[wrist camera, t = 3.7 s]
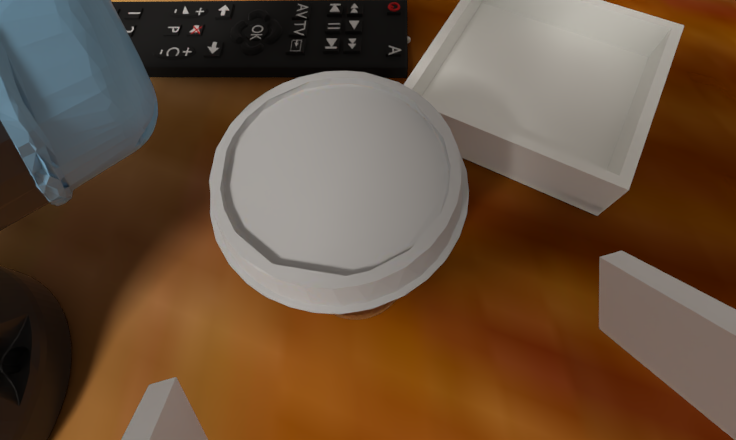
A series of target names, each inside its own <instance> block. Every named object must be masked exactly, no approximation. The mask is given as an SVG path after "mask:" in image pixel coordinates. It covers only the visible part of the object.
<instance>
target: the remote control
mask: <svg viewBox="0 0 736 440" xmlns="http://www.w3.org/2000/svg"><path fill="white" fill-rule="evenodd" d="M112 4H113V6H114V8H115V10H116V12H117V14H118V16H119V18H120V19H121V21H122V23H123V25H124V27H125V29H126V31H127V33H128V35H129V37H130V39H131V41H132V43H133V45H134V47H135V49H136V51H137V53H138V55H139V57H140V59H141V61H142V63H143V65H144V67H145V69H146V72H147V74H148V76H149V77H302V76H307V75H311V74H315V73H320V72H324V71H356V72H366V73H369V74H373V75H376V76H380V77H383V78H407V69H408V50H407V44H408V43H410V41H411V39H410V37H409V36H407V0H317V1H182V2H112Z"/></svg>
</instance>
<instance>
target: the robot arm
mask: <svg viewBox="0 0 736 440" xmlns="http://www.w3.org/2000/svg"><path fill="white" fill-rule="evenodd" d="M157 117H158V103H157V98H156V93H155V90H154V87H153V85H152V82H151V80H150V78H149V76H148V74H147V72H146V69H145V67H144V65H143V63H142V61H141V59H140V57H139V55H138V53H137V51H136V49H135V47H134V45H133V43H132V41H131V39H130V37H129V35H128V33H127V31H126V29H125V27H124V25H123V23H122V21H121V19H120V18H119V16H118V14H117V12H116V10H115V8H114V6H113V4H112V2H111V0H0V230H2V229H4V228H6V227H7V226H9V225H11V224H13V223H14V222H16V221H18V220H20V219H22V218H23V217H25V216H27V215H29V214H30V213H32V212H34V211H36V210H37V209H39V208H41V207H43V206H45V205H46V204H48V203H51V205H55V206H60V205H63V204H64V203H66V202H68V201H69V200H70V199H71V198H72V194H73V190H74V189H76V188H77V187H79V186H81V185H82V184H84V183H85V182H87V181H89V180H90V179H92V178H94V177H95V176H97V175H98V174H100V173H102V172H103V171H105V170H106V169H108V168H110V167H111V166H113V165H114V164H116V163H118V162H119V161H121V160H123V159H124V158H126V157H127V156H129V155H131V154H132V153H134V152H135V151H137V150H138V149H139V148H141V147H142V146H143V145H144V144H145V143H146V142H147V141H148V139H149V138H150V136H151V135H152V133H153V131H154V129H155V126H156V122H157ZM599 329H600V330H601V331H603V332H604V333H605V334H606V335H607V336H609V337H610V338H611V339H612V340H614V341H615V342H616V343H617V344H618V345H620V346H621V347H622V348H623V349H625V350H626V351H627V352H628V353H629V354H631V355H632V356H633V357H634V358H635V359H637V360H638V361H639V362H640V363H642V364H643V365H644V366H645V367H646V368H648V369H649V370H650V371H651V372H653V373H654V374H655V375H656V376H657V377H659V378H660V379H661V380H662V381H664V382H665V383H666V384H667V385H668V386H670V387H671V388H672V389H673V390H674V391H676V392H677V393H678V394H679V395H681V396H682V397H683V398H684V399H685V400H687V401H688V402H689V403H690V404H692V405H693V406H694V407H695V408H696V409H698V410H699V411H700V412H701V413H702V414H704V415H705V416H706V417H707V418H709V419H710V420H711V421H712V422H713V423H715V424H716V425H717V426H718V427H720V428H721V429H722V430H723V431H724V432H726V433H727V434H728V435H729V436H731V437H732V438H733V439H734V440H736V309H734V308H732V307H730V306H728V305H726V304H724V303H722V302H720V301H718V300H716V299H715V298H713V297H711V296H709V295H707V294H705V293H703V292H701V291H699V290H697V289H695V288H693V287H691V286H689V285H688V284H686V283H684V282H682V281H680V280H678V279H676V278H674V277H672V276H670V275H668V274H666V273H664V272H662V271H661V270H659V269H657V268H655V267H653V266H651V265H649V264H647V263H645V262H643V261H641V260H639V259H637V258H635V257H634V256H632V255H630V254H628V253H626V252H624V251H618V252H615V253H611V254H608V255H604V256H601V257H599ZM70 368H71V339H70V333H69V328H68V324H67V321H66V318H65V315H64V313H63V310H62V308H61V307H60V305H59V303H58V302H57V300H56V299H55V297H54V296H53V295H52V293H51V292H50V291H49V290H48V289H47V288H46V287H45V286H43V285H42V284H41V283H40V282H38V281H37V280H35V279H33V278H32V277H29V276H27V275H25V274H23V273H20V272H17V271H14V270H11V269H8V268H5V267H2V266H0V440H47V439H48V437H49V435H50V433H51V431H52V429H53V426H54V424H55V422H56V420H57V417H58V415H59V412H60V410H61V407H62V404H63V401H64V398H65V394H66V390H67V386H68V381H69V376H70ZM121 440H208V439H207V437H206V435H205V433H204V431H203V429H202V427H201V425H200V423H199V421H198V419H197V417H196V415H195V413H194V411H193V409H192V407H191V405H190V403H189V401H188V399H187V397H186V395H185V393H184V391H183V389H182V387H181V385H180V383H179V381H178V380H177V378H176V377H174V378H171V379H167V380H164V381H160V382H157V383H153V384H150V385H149V386H148V388H147V390H146V392H145V394H144V396H143V398H142V400H141V402H140V404H139V406H138V408H137V410H136V411H135V413H134V415H133V417H132V419H131V421H130V423H129V425H128V427H127V429H126V431H125V433H124V435H123V437H122V439H121Z"/></svg>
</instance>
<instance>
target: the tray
mask: <svg viewBox="0 0 736 440" xmlns="http://www.w3.org/2000/svg"><path fill="white" fill-rule="evenodd" d="M683 28H684V25H681V24H678V23H675V22H671V21H668V20H665V19H662V18H658V17H655V16H652V15H648V14H645V13H642V12H639V11H635V10H632V9H629V8H625V7H622V6H619V5H616V4H612V3H609V2H606V1H602V0H460V2H459V3H458V5H457V6H456V8H455V9H454V11H453V12H452V14H451V15H450V17H449V18H448V20H447V21H446V22H445V24H444V25H443V27H442V28H441V30H440V31H439V33H438V34H437V36H436V37H435V39H434V40H433V42H432V43H431V45H430V46H429V48H428V49H427V51H426V52H425V54H424V55H423V56H422V58H421V59H420V61H419V62H418V64H417V65H416V67H415V68H414V70H413V71H412V73H411V74H410V76H409V77H408V79H407V80H406V82H405V83H404V86H406V87H408V88H410V89H412V90H413V91H415V92H417V93H418V94H419V95H421V96H422V97H423V98H424V99H426V100H427V101H428V102H430V103H431V105H432V106H433V107H434V108H435V109H436V110H437V111H438V112H439V113H440V114H441V116H442V117H443V119H444V120H445V122H446V123H447V125H448V126H449V128H450V130H451V132H452V134H453V137H454V139H455V141H456V144H457V146H458V149H459V151H460V154H461V157H462V158H464V159H466V160H469V161H471V162H473V163H476V164H478V165H480V166H483V167H485V168H487V169H490V170H492V171H494V172H496V173H499V174H501V175H503V176H506V177H508V178H510V179H513V180H515V181H517V182H520V183H522V184H524V185H527V186H529V187H531V188H533V189H536V190H538V191H540V192H543V193H545V194H547V195H550V196H552V197H554V198H557V199H559V200H561V201H564V202H566V203H568V204H570V205H573V206H575V207H577V208H580V209H582V210H584V211H587V212H589V213H591V214H594V215H596V216H598V215H599V214H600V213H602V212H603V211H604V210H605V209H607V208H608V207H609V206H610V205H611V204H613V203H614V202H615V201H616V200H618V199H619V198H620V197H621V196H622V195H624V194H625V193H626V192H627V191H629V188H630V185H631V182H632V179H633V177H634V174H635V171H636V168H637V165H638V162H639V159H640V156H641V153H642V150H643V147H644V144H645V141H646V138H647V135H648V132H649V129H650V126H651V123H652V120H653V117H654V114H655V111H656V108H657V105H658V102H659V99H660V96H661V93H662V90H663V87H664V84H665V81H666V78H667V75H668V73H669V70H670V67H671V64H672V61H673V58H674V55H675V52H676V49H677V46H678V43H679V40H680V37H681V34H682V31H683Z"/></svg>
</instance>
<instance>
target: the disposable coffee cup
mask: <svg viewBox="0 0 736 440" xmlns="http://www.w3.org/2000/svg"><path fill="white" fill-rule="evenodd" d="M209 185H210V217H211V221H212V226H213V230H214V234H215V239H216V241H217V243H218V245H219V247H220V249H221V250H222V252H223V254H224V256H225V258H226V259H227V261H228V263H229V265H230V266H231V267H232V268H233V269H234V270H235V271H236V272H237V273H238V274H239V276H240V277H241V278H242V279H243V280H244V281H245V282H246V283H247V284H248V285H250V286H251V287H252V288H254V289H255V290H257V291H258V292H259V293H261V294H262V295H264V296H266V297H267V298H270V299H272V300H274V301H277V302H279V303H281V304H284V305H286V306H288V307H292V308H296V309H300V310H304V311H309V312H313V313H326V314H333V315H336V316H338V317H341V318H345V319H357V320H360V319H365V318H370V317H373V316H375V315H378V314H380V313H382V312H383V311H385V310H386V309H388V308H389V307H390V306H391V305H392V304H393V303H394V302H395V301H396V300H397V299H398V298H400V297H402V296H405V295H406V294H408V293H409V292H411V291H412V290H413V289H415V288H416V287H418V286H419V285H420V284H422V283H423V282H425V281H426V280H427V279H428V278H429V277H430V276H431V275H432V274H433V273H434V272H435V271H436V270H437V269H438V268H439V267H440V266H441V265H442V264H443V263H444V262H445V260H446V259H447V257H448V256H449V254H450V253H451V251H452V249H453V247H454V246H455V244H456V242H457V240H458V239H459V237H460V234H461V231H462V228H463V225H464V222H465V219H466V215H467V209H468V198H469V188H468V179H467V170H466V168H465V165H464V162H463V159H462V157H461V154H460V151H459V149H458V146H457V144H456V141H455V139H454V137H453V134H452V132H451V130H450V128H449V126H448V125H447V123H446V122H445V120H444V119H443V117H442V116H441V114H440V113H439V112H438V111H437V110H436V109H435V108H434V107H433V106H432V105H431V103H430V102H428V101H427V100H426V99H424V98H423V97H422V96H421V95H419V94H418V93H417V92H415V91H413V90H412V89H410V88H408V87H406V86H404V85H403V84H401V83H399V82H397V81H393V80H390V79H387V78H383V77H380V76H376V75H373V74H369V73H366V72H356V71H324V72H320V73H315V74H311V75H307V76H302V77H298V78H296V79H293V80H290V81H287V82H285V83H282V84H280V85H278V86H276V87H274V88H273V89H271V90H269V91H267V92H266V93H264V94H263V95H261V96H260V97H259V98H257V99H256V100H254V101H253V102H251V103H250V104H249V105H248V106H247V107H246V108H245V109H244V110H243V111H242V112H241V113H240V114H239V115H238V116H237V117H236V118H235V120H234V121H233V122H232V123H231V124H230V126H229V127H228V129H227V131H226V133H225V134H224V136H223V138H222V140H221V141H220V143H219V145H218V147H217V148H216V151H215V156H214V160H213V165H212V169H211V174H210V178H209Z"/></svg>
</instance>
